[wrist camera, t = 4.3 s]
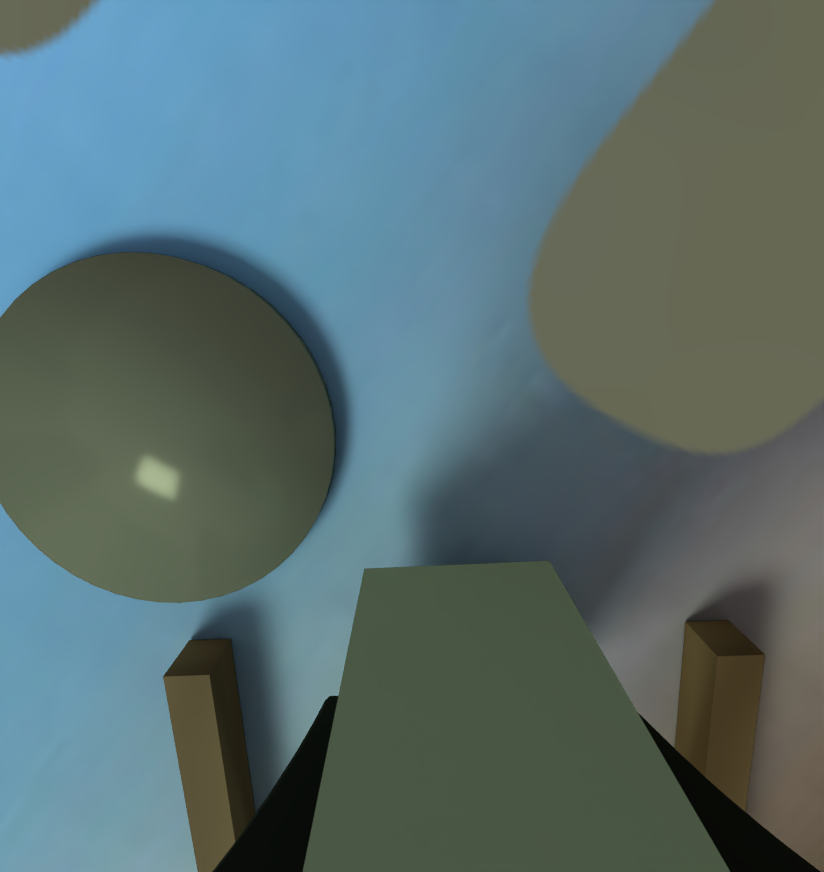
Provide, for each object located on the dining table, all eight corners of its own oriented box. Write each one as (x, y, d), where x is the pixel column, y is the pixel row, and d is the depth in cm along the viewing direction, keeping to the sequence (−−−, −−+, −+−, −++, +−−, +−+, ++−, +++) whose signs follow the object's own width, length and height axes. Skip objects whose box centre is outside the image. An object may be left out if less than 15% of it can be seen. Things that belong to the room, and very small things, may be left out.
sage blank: (549, 561, 12) (811, 1010, 4) (546, 734, 13) (750, 1355, 5) (364, 568, 12) (271, 1028, 4) (377, 740, 13) (322, 1363, 5)
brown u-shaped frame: (728, 620, 14) (765, 654, 12) (701, 873, 16) (730, 929, 14) (189, 640, 14) (163, 676, 13) (229, 887, 16) (210, 944, 15)
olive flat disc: (320, 246, 12) (316, 242, 11) (348, 586, 14) (346, 596, 13) (-49, 264, 12) (-69, 261, 11) (30, 599, 14) (16, 608, 13)
